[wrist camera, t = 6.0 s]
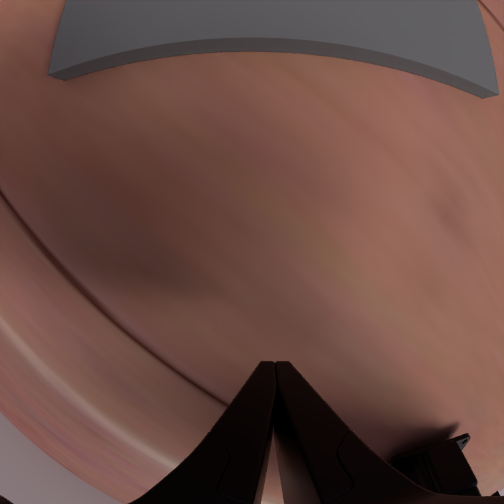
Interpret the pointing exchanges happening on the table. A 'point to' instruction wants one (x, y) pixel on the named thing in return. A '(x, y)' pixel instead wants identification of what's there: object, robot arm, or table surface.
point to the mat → (282, 34)
